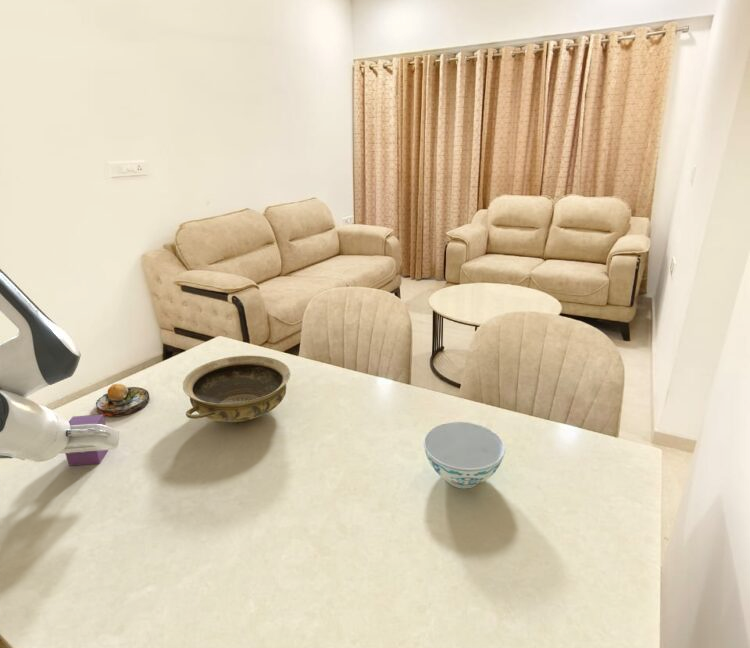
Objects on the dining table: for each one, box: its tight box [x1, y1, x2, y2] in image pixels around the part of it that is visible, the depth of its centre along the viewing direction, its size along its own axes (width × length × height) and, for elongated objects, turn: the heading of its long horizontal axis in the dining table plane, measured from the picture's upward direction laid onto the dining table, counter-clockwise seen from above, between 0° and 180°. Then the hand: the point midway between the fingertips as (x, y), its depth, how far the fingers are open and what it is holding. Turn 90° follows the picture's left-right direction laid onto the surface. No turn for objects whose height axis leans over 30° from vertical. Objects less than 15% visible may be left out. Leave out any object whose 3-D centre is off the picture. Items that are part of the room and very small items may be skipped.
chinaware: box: [423, 421, 506, 489], centre depth 95 cm, size 15×15×8 cm
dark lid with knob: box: [95, 383, 150, 417], centre depth 122 cm, size 12×12×8 cm
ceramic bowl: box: [182, 354, 291, 423], centre depth 117 cm, size 30×24×10 cm
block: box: [64, 414, 109, 467], centre depth 103 cm, size 6×6×8 cm
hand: (77, 448), depth 99 cm, fingers closed, pressing on block
